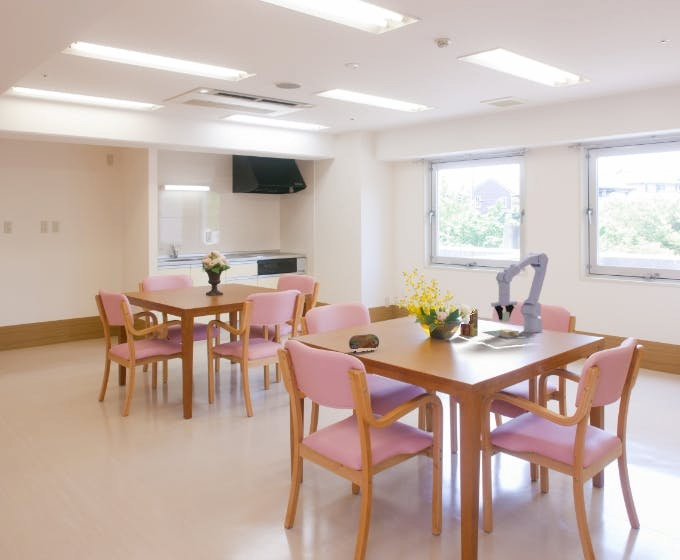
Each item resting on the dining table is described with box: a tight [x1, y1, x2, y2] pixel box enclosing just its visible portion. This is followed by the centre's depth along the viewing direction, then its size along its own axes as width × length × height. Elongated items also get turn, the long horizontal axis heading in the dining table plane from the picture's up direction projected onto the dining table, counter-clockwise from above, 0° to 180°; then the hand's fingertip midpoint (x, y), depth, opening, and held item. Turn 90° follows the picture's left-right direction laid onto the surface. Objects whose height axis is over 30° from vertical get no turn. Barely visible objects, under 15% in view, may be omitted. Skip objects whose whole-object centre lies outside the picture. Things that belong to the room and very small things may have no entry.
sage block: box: [498, 310, 510, 323], centre depth 317 cm, size 4×4×5 cm
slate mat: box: [482, 329, 530, 341], centre depth 319 cm, size 14×25×1 cm, turn 17°
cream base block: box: [499, 328, 520, 338], centre depth 315 cm, size 7×7×3 cm
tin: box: [348, 333, 380, 350], centre depth 292 cm, size 15×3×8 cm, turn 105°
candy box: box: [459, 308, 479, 337], centre depth 321 cm, size 9×4×15 cm, turn 39°
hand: (504, 319), depth 317 cm, fingers closed on sage block, 4 cm apart
